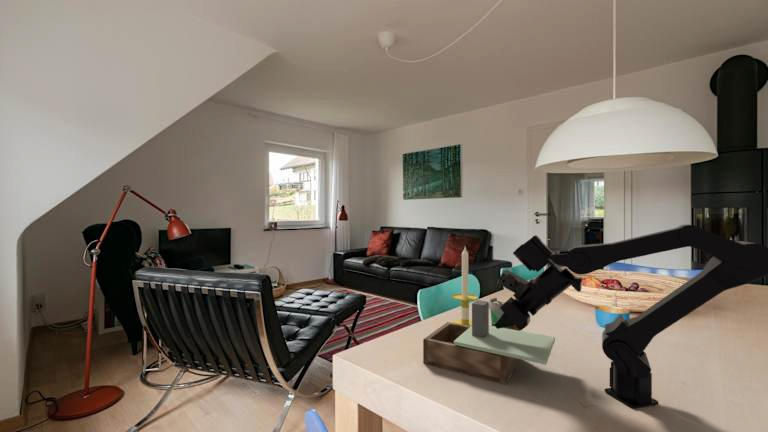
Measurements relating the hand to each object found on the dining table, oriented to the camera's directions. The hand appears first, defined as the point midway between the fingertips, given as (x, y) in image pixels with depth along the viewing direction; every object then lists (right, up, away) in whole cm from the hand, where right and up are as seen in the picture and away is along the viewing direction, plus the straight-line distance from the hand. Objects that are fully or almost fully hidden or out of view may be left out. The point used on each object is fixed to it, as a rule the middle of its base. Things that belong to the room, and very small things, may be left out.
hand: (496, 326), depth 83 cm
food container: (+9, -10, +22) cm, 25 cm away
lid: (+2, -3, -1) cm, 4 cm away
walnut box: (-5, -10, +3) cm, 11 cm away
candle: (0, -10, +30) cm, 31 cm away
